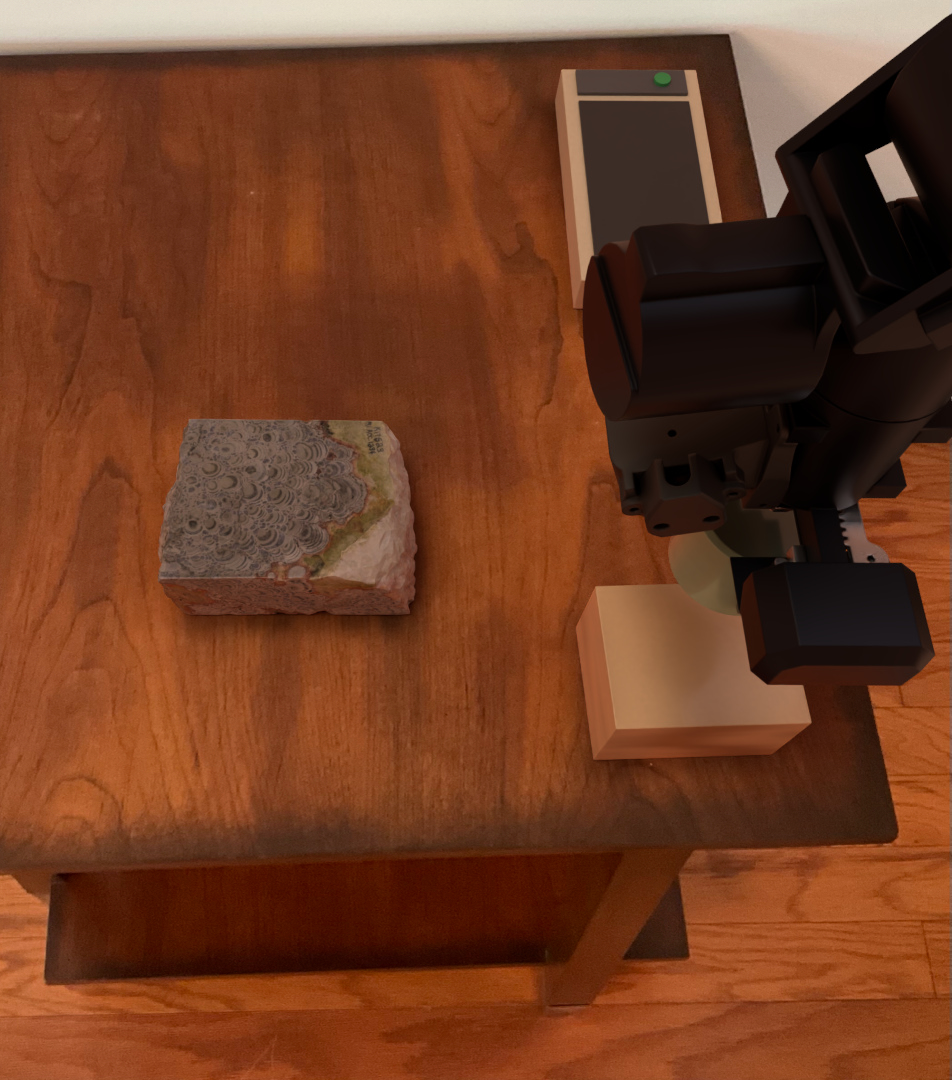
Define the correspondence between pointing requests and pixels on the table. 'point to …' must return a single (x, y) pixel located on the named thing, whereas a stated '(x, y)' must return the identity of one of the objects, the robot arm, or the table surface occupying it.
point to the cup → (728, 553)
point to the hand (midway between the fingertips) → (737, 549)
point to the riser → (676, 680)
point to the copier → (630, 158)
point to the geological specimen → (288, 520)
